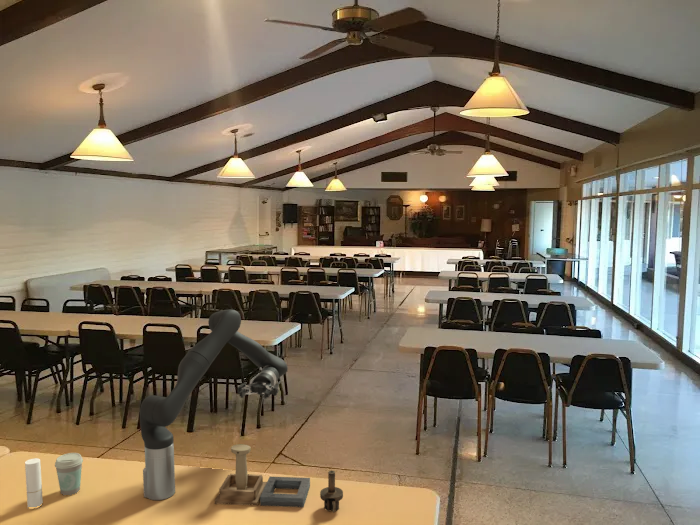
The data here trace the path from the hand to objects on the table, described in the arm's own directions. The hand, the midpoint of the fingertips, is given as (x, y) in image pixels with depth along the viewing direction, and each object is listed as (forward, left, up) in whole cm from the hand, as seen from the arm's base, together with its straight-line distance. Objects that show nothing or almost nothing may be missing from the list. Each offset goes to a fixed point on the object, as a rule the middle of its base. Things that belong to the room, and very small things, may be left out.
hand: (253, 395), depth 205 cm
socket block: (+14, -13, -29) cm, 35 cm away
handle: (-1, -13, -29) cm, 31 cm away
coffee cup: (-59, -16, -30) cm, 68 cm away
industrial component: (+30, -19, -30) cm, 46 cm away
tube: (-65, -26, -30) cm, 76 cm away
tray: (-1, -13, -29) cm, 32 cm away
